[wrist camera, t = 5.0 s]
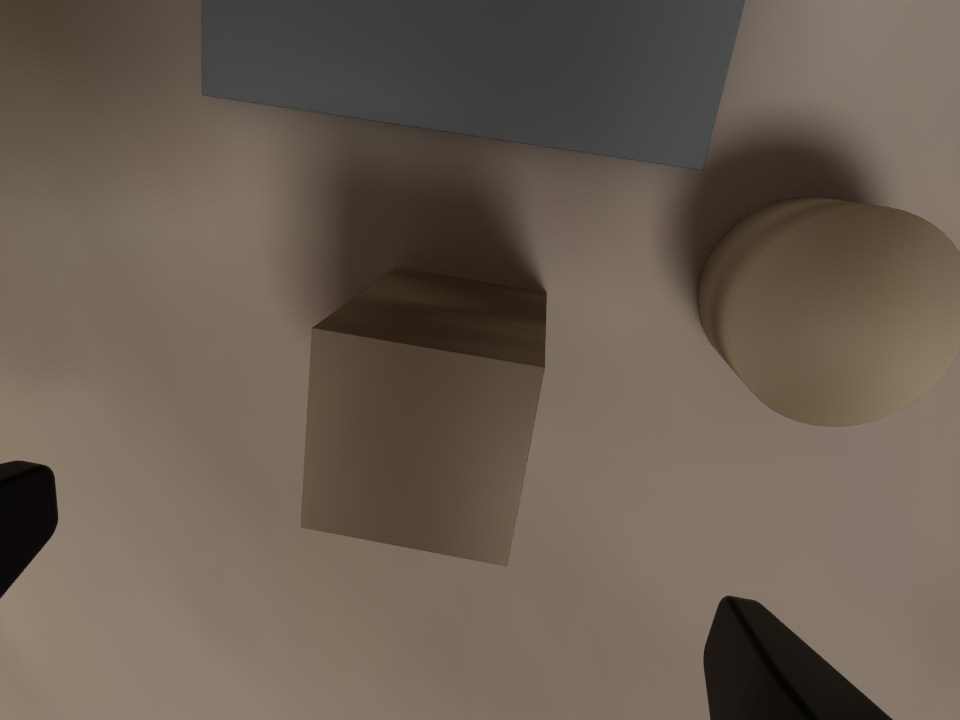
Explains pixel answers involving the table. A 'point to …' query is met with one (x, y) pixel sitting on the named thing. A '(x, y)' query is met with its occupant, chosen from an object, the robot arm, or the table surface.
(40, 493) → the robot arm
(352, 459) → the walnut block
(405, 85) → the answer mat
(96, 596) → the table surface
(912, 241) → the beige round knob
